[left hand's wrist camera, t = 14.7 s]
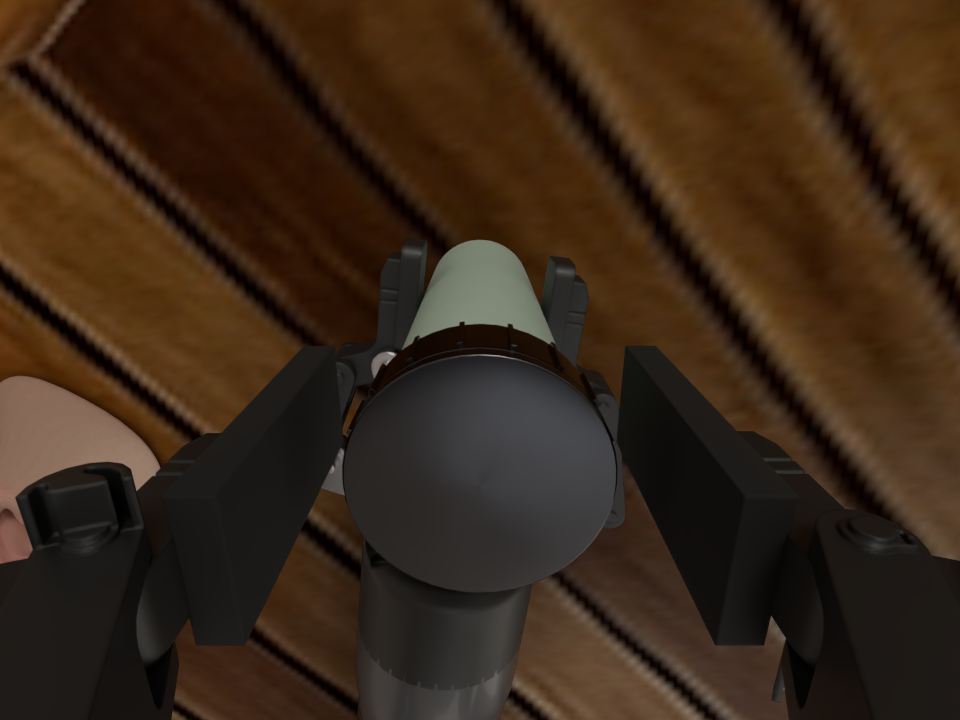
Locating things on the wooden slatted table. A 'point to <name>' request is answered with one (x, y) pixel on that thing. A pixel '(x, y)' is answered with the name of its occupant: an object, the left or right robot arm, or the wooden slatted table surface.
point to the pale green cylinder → (479, 293)
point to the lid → (479, 460)
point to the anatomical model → (54, 447)
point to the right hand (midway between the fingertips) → (488, 253)
